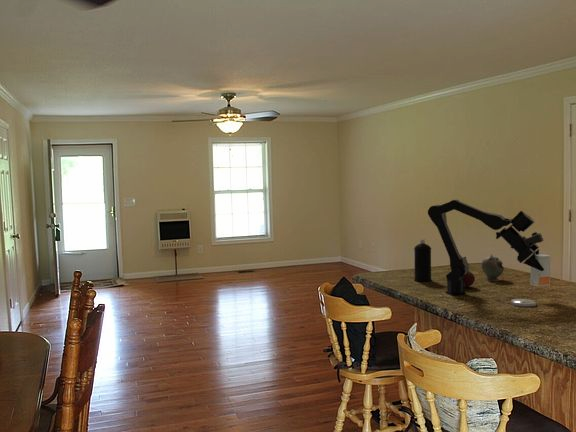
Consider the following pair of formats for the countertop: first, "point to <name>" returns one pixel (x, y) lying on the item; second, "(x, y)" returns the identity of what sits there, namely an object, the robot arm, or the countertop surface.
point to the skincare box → (541, 276)
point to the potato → (468, 279)
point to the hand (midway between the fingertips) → (544, 268)
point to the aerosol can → (422, 262)
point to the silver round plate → (523, 302)
